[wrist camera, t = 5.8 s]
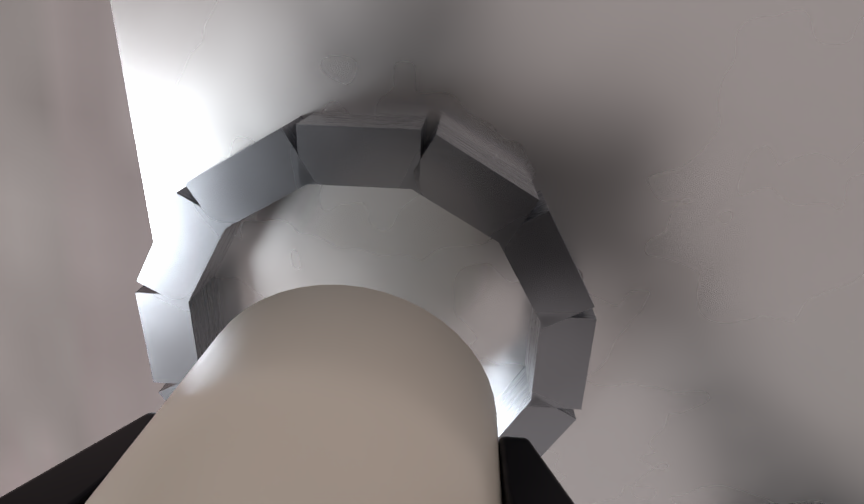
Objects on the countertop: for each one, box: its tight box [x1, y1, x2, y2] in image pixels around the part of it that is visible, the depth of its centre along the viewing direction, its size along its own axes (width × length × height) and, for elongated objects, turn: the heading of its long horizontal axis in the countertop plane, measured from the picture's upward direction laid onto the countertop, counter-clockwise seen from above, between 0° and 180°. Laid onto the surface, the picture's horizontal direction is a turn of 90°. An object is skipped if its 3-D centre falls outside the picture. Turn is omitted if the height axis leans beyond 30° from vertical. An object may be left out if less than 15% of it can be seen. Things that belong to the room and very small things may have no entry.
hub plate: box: [110, 0, 864, 504], centre depth 12 cm, size 18×14×2 cm
